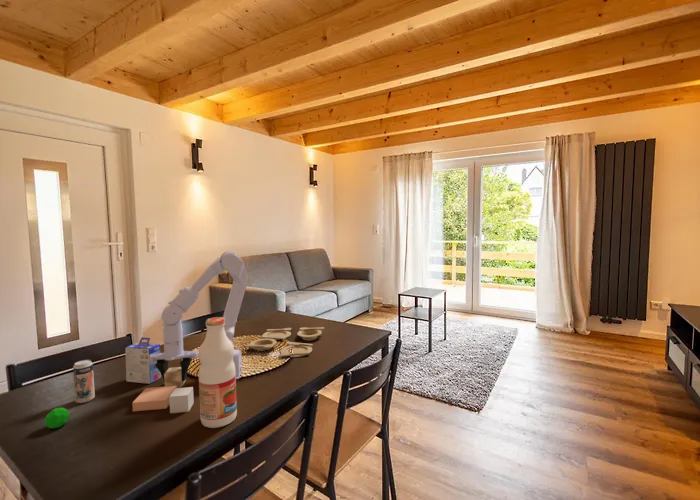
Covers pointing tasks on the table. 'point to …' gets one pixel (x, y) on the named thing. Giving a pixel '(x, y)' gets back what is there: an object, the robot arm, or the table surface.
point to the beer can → (83, 381)
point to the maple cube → (173, 377)
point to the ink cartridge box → (142, 362)
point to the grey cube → (181, 400)
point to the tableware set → (298, 348)
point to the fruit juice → (217, 376)
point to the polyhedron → (57, 418)
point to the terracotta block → (153, 398)
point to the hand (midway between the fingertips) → (175, 380)
